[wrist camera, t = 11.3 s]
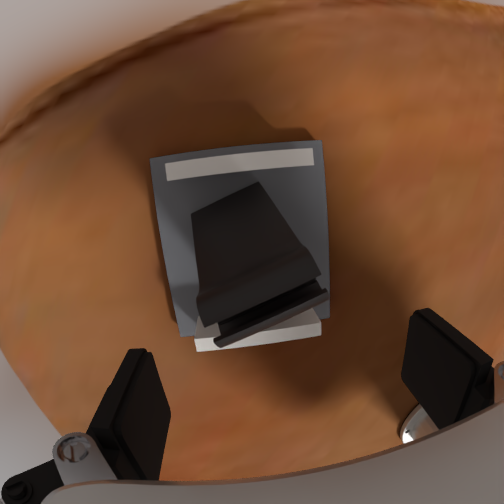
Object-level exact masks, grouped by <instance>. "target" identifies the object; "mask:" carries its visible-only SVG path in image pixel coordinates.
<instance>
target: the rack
mask: <svg viewBox="0 0 504 504" xmlns="http://www.w3.org/2000/svg"><path fill="white" fill-rule="evenodd" d="M150 167H151V175H152V183H153V190H154V198H155V205H156V212H157V218H158V225H159V231H160V237H161V243H162V249H163V254H164V260H165V265H166V270H167V276H168V281H169V286H170V291H171V296H172V300H173V305H174V310H175V314H176V319H177V323H178V327H179V332H180V336H181V337H186V336H195V338H194V340H195V345H196V349H197V352H200V351H211V350H220V349H230V348H239V347H247V346H255V345H262V344H270V343H277V342H283V341H290V340H296V339H302V338H309V337H314V336H320V335H321V321H320V320H319V319H325V318H330V299H329V300H327V301H325V302H323V303H321V304H319V305H317V306H315V307H313V308H311V309H309V310H307V311H305V312H302V313H300V314H298V315H296V316H294V317H292V318H290V319H287V320H285V321H283V322H281V323H279V324H276V325H274V326H272V327H270V328H267V329H265V330H263V331H261V332H258V333H256V334H254V335H251V336H249V337H247V338H244V339H242V340H240V341H237V342H235V343H232V344H230V345H228V346H225V347H223V348H219V347H217V346H216V345H215V344H214V342H213V338H215V337H218V336H220V335H221V334H220V330H219V327H218V324H217V323H215V324H213V325H210V326H208V327H206V328H204V326H203V324H202V321H201V319H200V316H199V313H198V309H197V304H196V297H197V295H198V293H199V279H198V272H197V264H196V256H195V248H194V239H193V231H192V222H191V213H193V212H195V211H197V210H199V209H201V208H204V207H206V206H208V205H210V204H212V203H214V202H216V201H218V200H220V199H222V198H224V197H226V196H228V195H230V194H233V193H235V192H237V191H239V190H241V189H243V188H245V187H248V186H250V185H252V184H254V183H256V182H258V181H259V182H260V184H261V185H262V186H263V188H264V189H265V191H266V192H267V194H268V195H269V197H270V198H271V200H272V201H273V203H274V204H275V205H276V207H277V208H278V210H279V211H280V213H281V214H282V216H283V217H284V219H285V220H286V222H287V223H288V225H289V226H290V228H291V229H292V231H293V232H294V234H295V235H296V237H297V238H298V240H299V241H300V242H301V244H302V245H304V246H305V247H306V248H307V249H308V250H309V252H310V253H311V255H312V257H313V258H314V260H315V262H316V264H317V266H318V268H319V270H320V272H321V274H322V275H320V276H318V277H316V280H317V281H318V283H319V285H320V287H321V288H322V289H324V288H326V289H327V290H328V293H329V297H330V272H329V238H328V217H327V199H326V185H325V171H324V160H323V148H322V140H314V141H294V142H278V143H265V144H254V145H243V146H233V147H224V148H216V149H208V150H200V151H193V152H186V153H180V154H173V155H167V156H161V157H155V158H150Z"/></svg>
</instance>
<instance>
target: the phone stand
mask: <svg viewBox="0 0 504 504" xmlns="http://www.w3.org/2000/svg"><path fill="white" fill-rule="evenodd" d="M191 222H192V231H193V239H194V248H195V256H196V264H197V272H198V279H199V293H198V295H197V297H196V304H197V309H198V313H199V316H200V319H201V321H202V324H203V326H204V328H206V327H208V326H210V325H213V324H215V323H217V324H218V327H219V330H220V334H221V335H220V336H218V337H215V338H213V342H214V344H215V345H216V346H217V347H219V348H223V347H225V346H228V345H230V344H232V343H235V342H237V341H240V340H242V339H244V338H247V337H249V336H251V335H254V334H256V333H258V332H261V331H263V330H265V329H267V328H270V327H272V326H274V325H276V324H279V323H281V322H283V321H285V320H287V319H290V318H292V317H294V316H296V315H298V314H300V313H302V312H305V311H307V310H309V309H311V308H313V307H315V306H317V305H319V304H321V303H323V302H325V301H327V300H329V299H330V297H329V293H328V290H327V289H326V288H324V289H322V288H321V287H320V285H319V283H318V281H317V280H316V277H318V276H320V275H322V274H321V272H320V270H319V268H318V266H317V264H316V262H315V260H314V258H313V257H312V255H311V253H310V252H309V250H308V249H307V248H306V247H305V246H304V245H302V244H301V242H300V241H299V240H298V238H297V237H296V235H295V234H294V232H293V231H292V229H291V228H290V226H289V225H288V223H287V222H286V220H285V219H284V217H283V216H282V214H281V213H280V211H279V210H278V208H277V207H276V205H275V204H274V203H273V201H272V200H271V198H270V197H269V195H268V194H267V192H266V191H265V189H264V188H263V186H262V185H261V184H260V182H259V181H258V182H256V183H254V184H252V185H250V186H248V187H245V188H243V189H241V190H239V191H237V192H235V193H233V194H230V195H228V196H226V197H224V198H222V199H220V200H218V201H216V202H214V203H212V204H210V205H208V206H206V207H204V208H201V209H199V210H197V211H195V212H193V213H191Z"/></svg>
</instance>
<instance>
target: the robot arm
mask: <svg viewBox="0 0 504 504" xmlns="http://www.w3.org/2000/svg"><path fill="white" fill-rule="evenodd" d="M492 362H493V359H492V358H491V357H490V356H489V355H488V354H486V353H485V352H484V351H483V350H482V349H480V348H479V347H478V346H477V345H476V344H474V343H473V342H472V341H471V340H469V339H468V338H467V337H466V336H464V335H463V334H462V333H461V332H459V331H458V330H457V329H456V328H454V327H453V326H452V325H451V324H449V323H448V322H447V321H446V320H444V319H443V318H442V317H440V316H439V315H438V314H436V313H435V312H434V311H433V310H431V309H430V308H424V309H420V310H416V311H415V312H414V313H413V315H412V316H411V317H410V320H409V328H408V335H407V342H406V348H405V355H404V361H403V366H402V372H401V377H402V380H403V382H404V383H405V385H406V386H407V387H408V389H409V390H410V391H411V393H412V394H413V395H414V397H415V398H416V399H417V401H418V402H419V403H420V404H419V405H418V406H417V407H416V408H415V409H414V410H413V411H412V412H411V413H410V414H409V416H408V417H407V418H406V420H405V422H404V423H403V425H402V428H401V430H400V438H401V440H402V442H403V443H404V444H402V445H399V446H396V447H393V448H390V449H387V450H384V451H380V452H377V453H374V454H371V455H367V456H364V457H360V458H356V459H353V460H349V461H345V462H341V463H337V464H332V465H328V466H323V467H318V468H313V469H308V470H303V471H297V472H291V473H285V474H278V475H270V476H262V477H253V478H242V479H229V480H207V481H159V475H160V470H161V464H162V459H163V454H164V448H165V443H166V438H167V433H168V428H169V423H170V418H171V411H170V407H169V404H168V401H167V398H166V395H165V392H164V389H163V386H162V383H161V380H160V377H159V374H158V371H157V368H156V365H155V361H154V358H153V355H152V353H151V352H147V350H146V349H145V348H140V349H129V350H128V352H127V354H126V356H125V358H124V360H123V362H122V363H121V365H120V367H119V369H118V371H117V373H116V375H115V377H114V379H113V381H112V383H111V385H110V386H109V387H108V388H107V390H106V392H105V394H104V396H103V398H102V400H101V403H100V405H99V407H98V409H97V411H96V413H95V415H94V417H93V419H92V421H91V423H90V425H89V428H88V430H87V432H86V433H81V432H74V433H70V434H67V435H65V436H63V437H61V438H60V439H59V440H58V441H57V442H56V443H55V445H54V446H53V451H52V453H53V458H54V459H52V460H50V461H48V462H46V463H44V464H41V465H39V466H37V467H34V468H32V469H30V470H27V471H25V472H23V473H20V474H18V475H15V476H13V477H11V478H9V479H8V480H7V481H6V482H5V483H4V485H3V487H2V491H1V495H2V498H1V499H0V504H504V361H502V362H500V363H498V364H497V365H496V366H495V368H493V367H492V366H491V365H492Z"/></svg>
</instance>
